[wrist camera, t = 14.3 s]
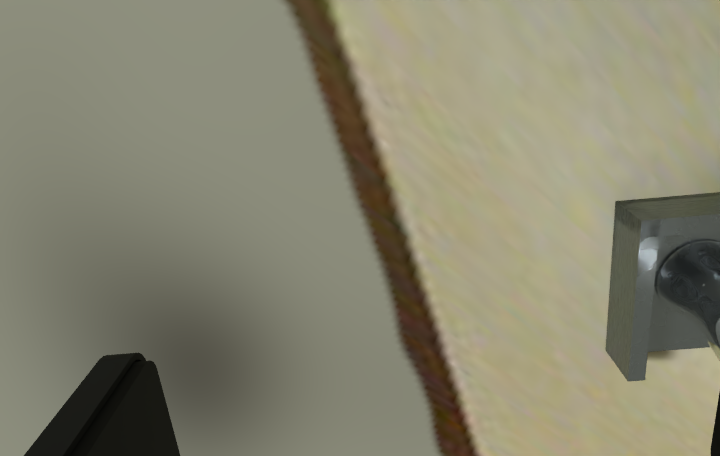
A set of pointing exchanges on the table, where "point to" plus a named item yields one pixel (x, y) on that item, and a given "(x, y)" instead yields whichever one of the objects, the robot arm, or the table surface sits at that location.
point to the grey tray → (652, 276)
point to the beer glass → (694, 288)
